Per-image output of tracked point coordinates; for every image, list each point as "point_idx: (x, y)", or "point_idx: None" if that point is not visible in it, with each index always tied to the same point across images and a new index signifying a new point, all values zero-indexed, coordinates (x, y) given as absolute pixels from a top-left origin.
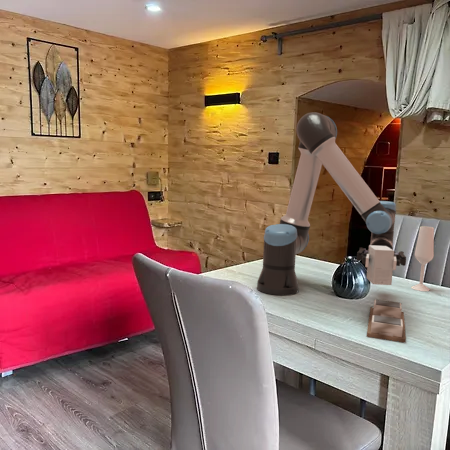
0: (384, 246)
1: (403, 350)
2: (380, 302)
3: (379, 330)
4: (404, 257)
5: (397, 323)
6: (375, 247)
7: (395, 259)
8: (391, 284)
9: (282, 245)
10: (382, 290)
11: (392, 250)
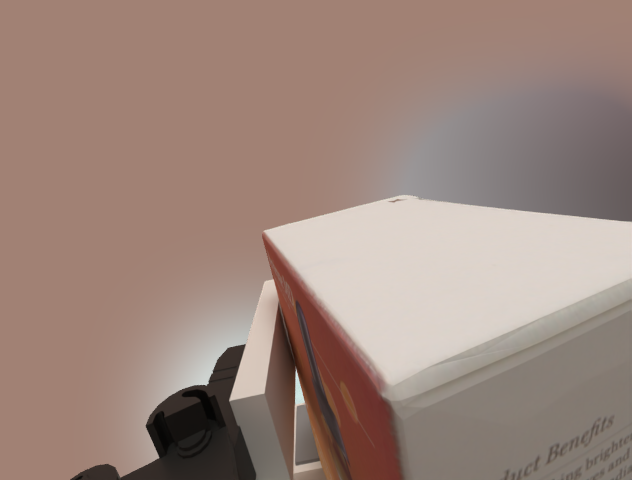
0: (403, 290)
1: (299, 389)
2: None
3: None
4: (89, 475)
5: (306, 408)
6: (465, 213)
7: (264, 302)
8: (320, 461)
9: None
10: None
11: (276, 227)
